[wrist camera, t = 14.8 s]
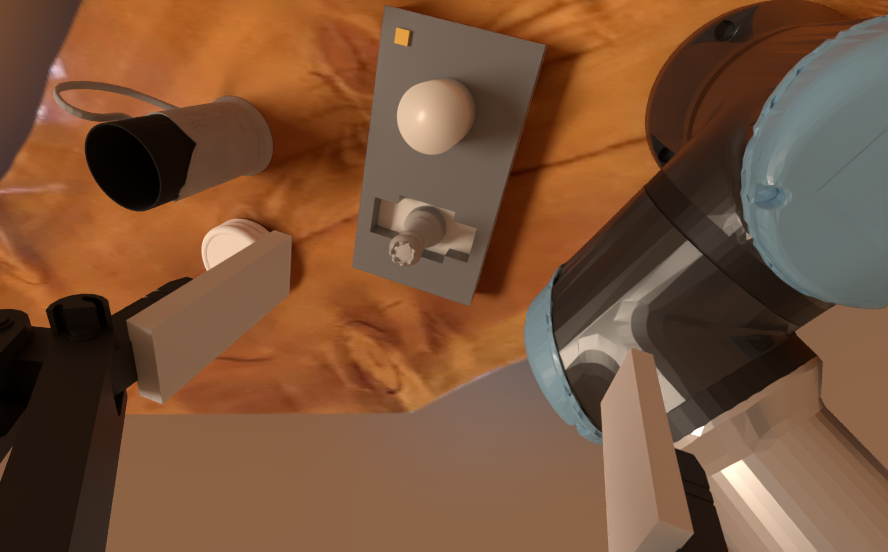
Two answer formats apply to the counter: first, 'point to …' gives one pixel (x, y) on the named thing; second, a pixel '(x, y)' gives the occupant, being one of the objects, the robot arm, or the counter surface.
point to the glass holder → (171, 147)
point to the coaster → (229, 240)
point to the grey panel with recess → (442, 144)
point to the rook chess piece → (417, 235)
